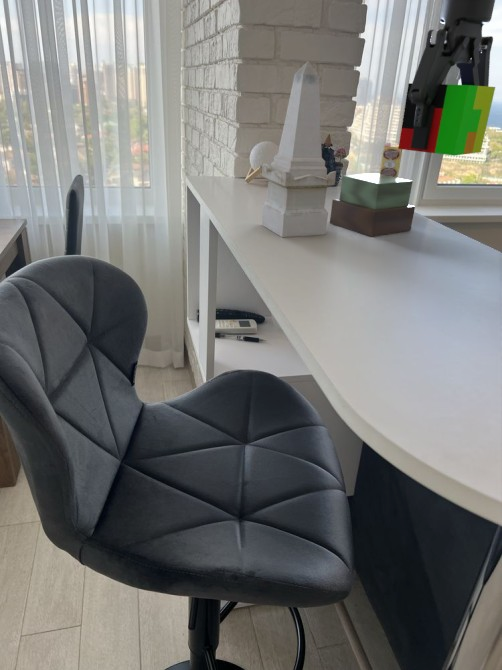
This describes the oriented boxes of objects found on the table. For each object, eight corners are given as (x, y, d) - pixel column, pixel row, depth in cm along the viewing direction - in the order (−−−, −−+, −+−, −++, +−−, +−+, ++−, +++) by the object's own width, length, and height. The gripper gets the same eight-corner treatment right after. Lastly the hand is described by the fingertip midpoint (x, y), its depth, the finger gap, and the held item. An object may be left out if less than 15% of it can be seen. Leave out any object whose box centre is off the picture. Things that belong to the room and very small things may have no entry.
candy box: (391, 218, 116) (403, 147, 109) (372, 216, 117) (383, 145, 110) (392, 210, 123) (403, 143, 117) (374, 208, 124) (384, 142, 117)
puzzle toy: (426, 146, 92) (437, 85, 88) (480, 152, 86) (495, 87, 82) (398, 148, 86) (408, 83, 82) (454, 155, 80) (468, 85, 75)
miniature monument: (328, 234, 99) (349, 62, 86) (280, 238, 96) (295, 58, 82) (303, 221, 108) (319, 63, 95) (259, 224, 104) (268, 59, 91)
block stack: (410, 230, 106) (420, 181, 102) (371, 236, 100) (379, 185, 95) (368, 217, 115) (375, 172, 110) (329, 223, 108) (335, 174, 104)
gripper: (490, 4, 85) (461, 143, 95) (399, -16, 73) (376, 147, 82) (534, 0, 80) (498, 148, 89) (444, -22, 67) (414, 152, 77)
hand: (440, 147), depth 86 cm, fingers closed on puzzle toy, 11 cm apart
